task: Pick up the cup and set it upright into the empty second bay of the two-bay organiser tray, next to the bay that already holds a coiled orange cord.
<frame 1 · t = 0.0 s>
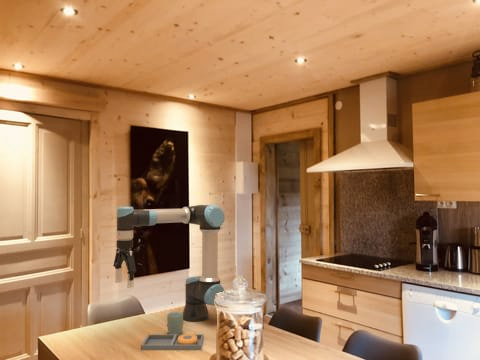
hand: (124, 284, 182), 28 cm above the table, fingers open, 13 cm apart
cord coil: (187, 344, 181), resting on tray
cup: (175, 334, 195), on the table
tray: (173, 345, 181), on the table
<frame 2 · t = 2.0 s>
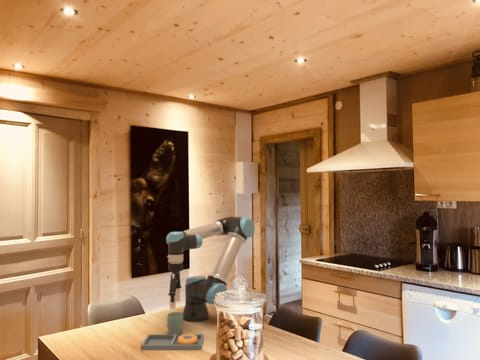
hand: (174, 304, 196), 15 cm above the table, fingers open, 13 cm apart
nothing on the table moved.
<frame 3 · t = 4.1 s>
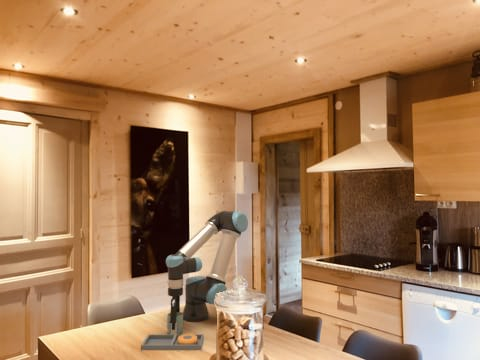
hand: (175, 332, 195), 1 cm above the table, fingers closed on cup, 8 cm apart
cup: (175, 334, 195), on the table, touching gripper
everything else where it was.
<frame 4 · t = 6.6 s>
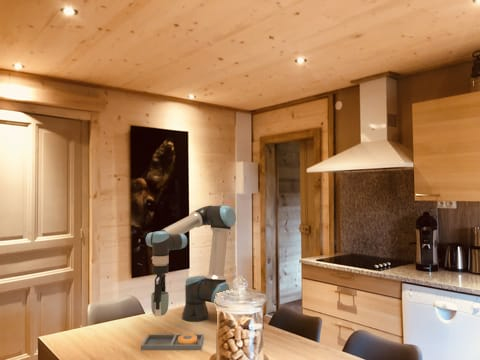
hand: (159, 313, 182), 15 cm above the table, fingers closed on cup, 8 cm apart
cup: (159, 315, 182), point 14 cm above the table, touching gripper
everything else where it was.
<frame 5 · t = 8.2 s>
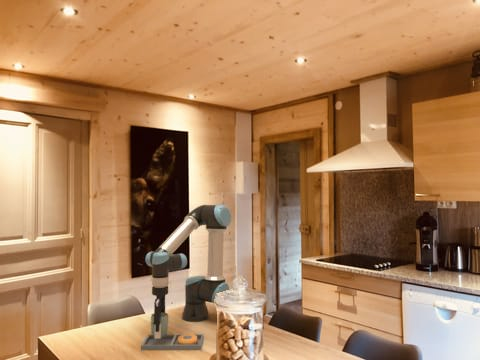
hand: (159, 334, 181), 5 cm above the table, fingers closed on cup, 8 cm apart
cup: (159, 336, 181), point 4 cm above the table, touching gripper
everything else where it was.
when the fingers open (3 cm above the table, at t = 9.4 s): cup drops 2 cm, resting on tray.
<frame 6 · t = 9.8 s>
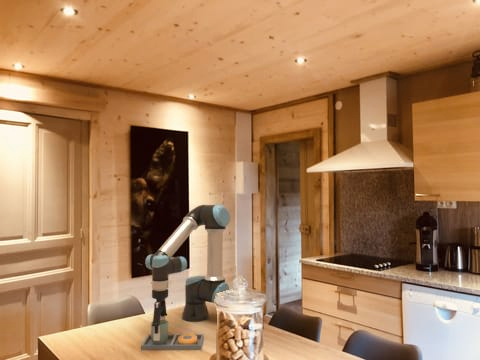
hand: (159, 335, 181), 5 cm above the table, fingers open, 13 cm apart
cup: (159, 344, 181), resting on tray
everything else where it was.
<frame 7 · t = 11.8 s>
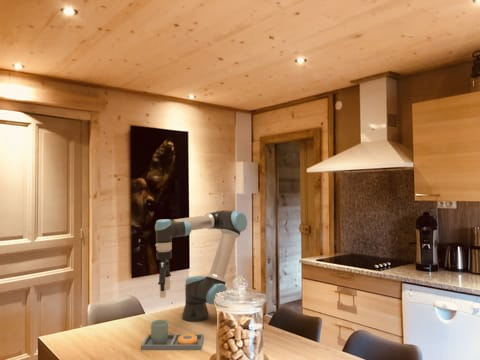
hand: (165, 293, 192), 21 cm above the table, fingers open, 13 cm apart
nothing on the table moved.
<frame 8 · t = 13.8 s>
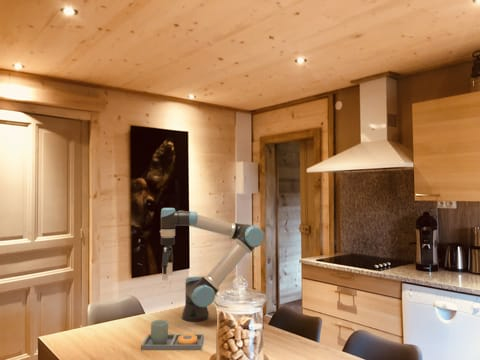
hand: (167, 277, 205), 27 cm above the table, fingers open, 13 cm apart
nothing on the table moved.
at the end: cup inside the target area (0.1 cm from its centre), resting on tray; cup tilted 0°; the gripper is holding nothing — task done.
